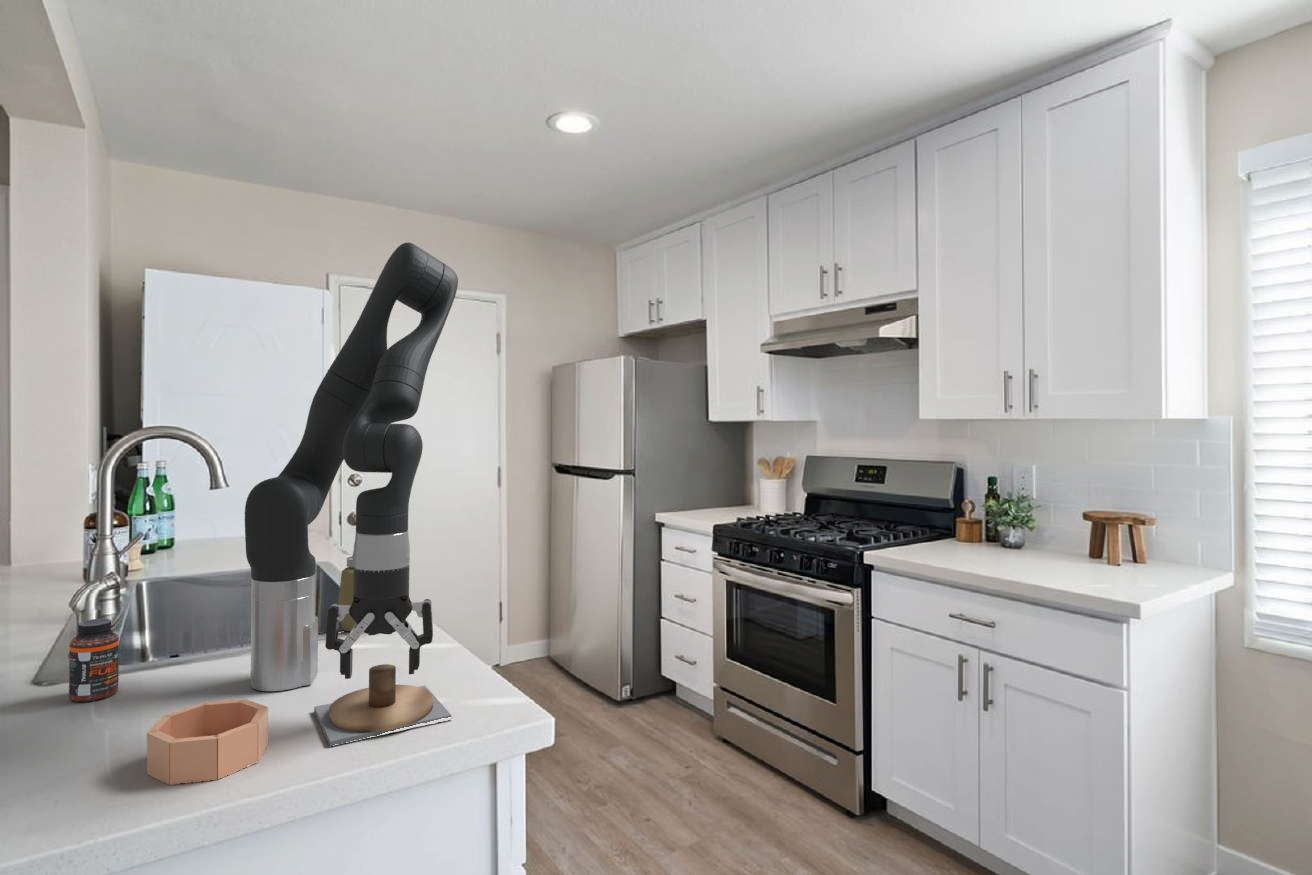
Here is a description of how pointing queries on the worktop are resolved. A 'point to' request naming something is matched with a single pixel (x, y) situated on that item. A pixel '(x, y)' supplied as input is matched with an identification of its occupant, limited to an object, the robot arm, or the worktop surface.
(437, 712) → the mat
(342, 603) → the squeeze bottle
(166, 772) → the bowl
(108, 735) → the worktop surface
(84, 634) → the supplement bottle
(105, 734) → the worktop surface
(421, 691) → the lid
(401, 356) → the robot arm
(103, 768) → the worktop surface
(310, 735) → the worktop surface
